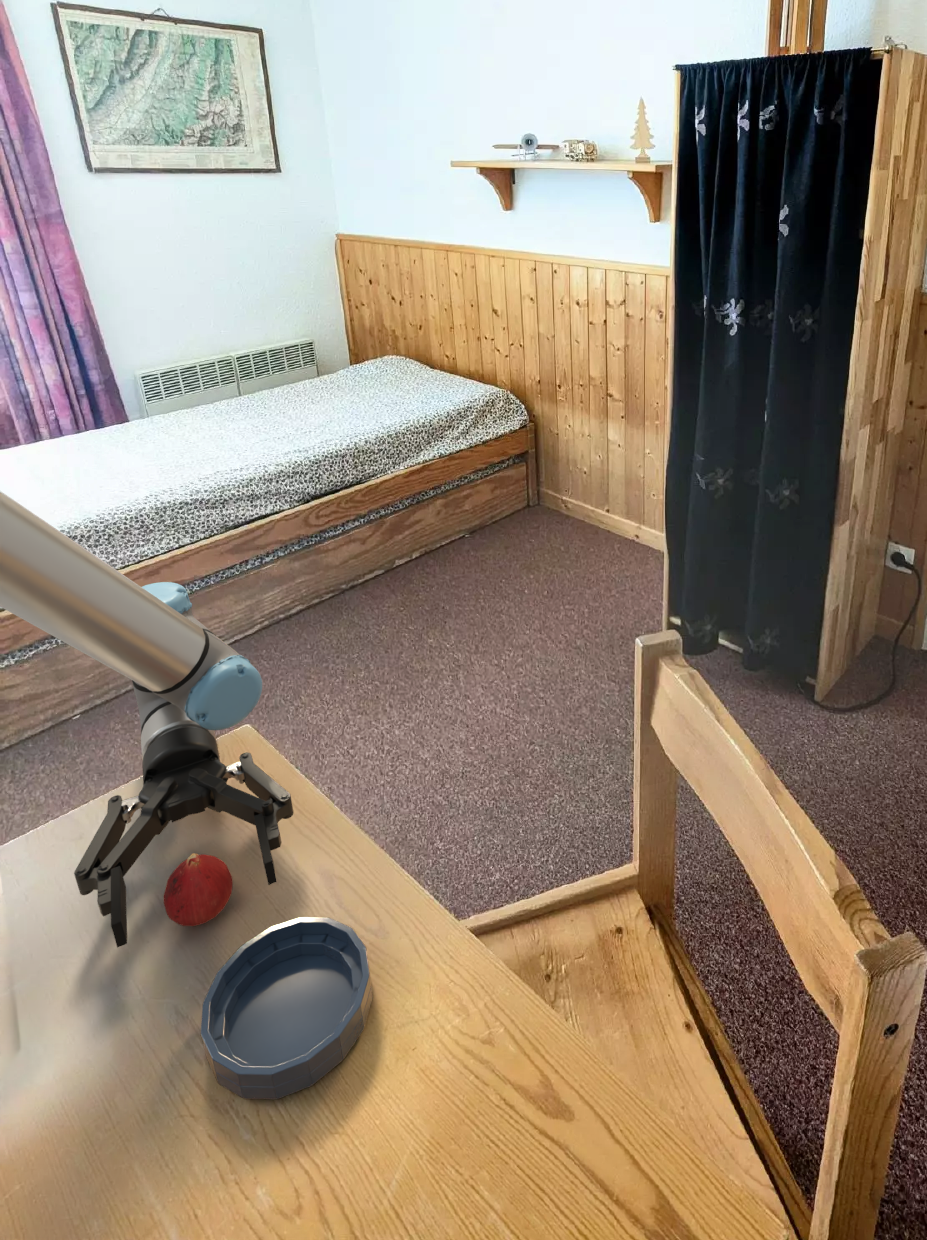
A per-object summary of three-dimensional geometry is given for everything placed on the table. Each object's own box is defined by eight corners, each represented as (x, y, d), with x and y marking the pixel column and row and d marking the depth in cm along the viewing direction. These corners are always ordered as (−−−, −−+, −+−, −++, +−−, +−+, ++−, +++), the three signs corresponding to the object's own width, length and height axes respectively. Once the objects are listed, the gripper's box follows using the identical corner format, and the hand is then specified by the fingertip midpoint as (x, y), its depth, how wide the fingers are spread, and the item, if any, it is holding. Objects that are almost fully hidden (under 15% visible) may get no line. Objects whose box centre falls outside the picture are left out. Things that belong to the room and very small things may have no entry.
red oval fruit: (179, 958, 72) (163, 895, 70) (165, 914, 77) (149, 852, 74) (245, 921, 76) (232, 860, 73) (227, 881, 80) (215, 821, 77)
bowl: (177, 1102, 62) (169, 1072, 60) (249, 942, 74) (244, 915, 73) (344, 1105, 61) (340, 1075, 60) (389, 944, 74) (386, 917, 73)
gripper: (295, 742, 96) (337, 875, 78) (61, 821, 84) (49, 998, 67) (287, 691, 93) (329, 818, 76) (45, 765, 82) (27, 935, 64)
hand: (198, 902), depth 71 cm, fingers open, 12 cm apart
